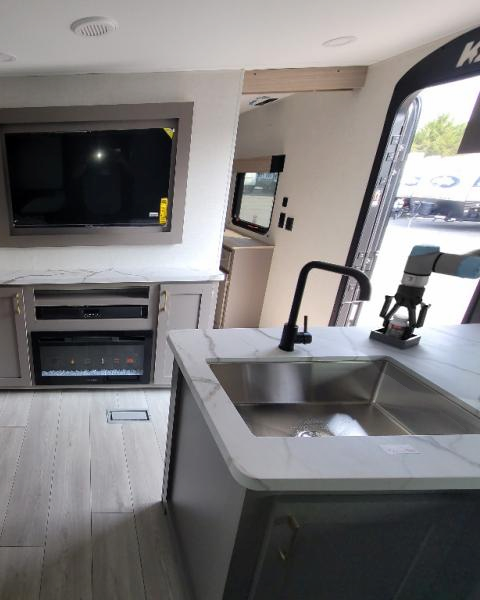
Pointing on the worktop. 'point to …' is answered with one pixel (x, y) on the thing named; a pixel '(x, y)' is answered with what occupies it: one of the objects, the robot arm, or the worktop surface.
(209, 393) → the worktop surface
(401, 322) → the pill bottle
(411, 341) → the tray
